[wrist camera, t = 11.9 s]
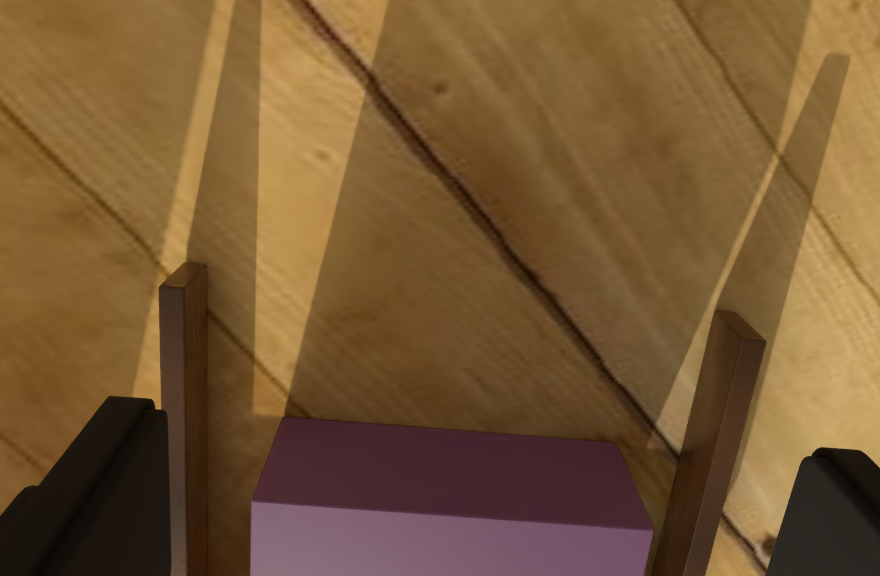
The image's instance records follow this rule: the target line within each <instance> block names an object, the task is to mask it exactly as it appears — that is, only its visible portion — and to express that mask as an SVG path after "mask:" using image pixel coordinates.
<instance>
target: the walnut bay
mask: <svg viewBox="0 0 880 576" xmlns="http://www.w3.org/2000/svg"><path fill="white" fill-rule="evenodd" d="M159 328H160V370H161V410H165V411H166V413H167V416H168V442H169V480H170V518H171V556H172V567H171V575H170V576H207V265H205V264H198V263H187V262H185V263H183V264H182V265H181V266H180V267H179V268H178V269H177V270H176V271H175V272H174V273H173V274H172V275H170V276H169V277H168V278H167V279H166V280H165V281H164V282H163V283H162V284H161V285H160V286H159ZM765 346H766V340H765V339H764V338H763V337H762V336H761V335H760V334H758V333H757V332H756V331H755V330H754V329H753V328H752V327H751V326H750V325H749V324H748V323H747V322H746V321H745V320H744V319H743V318H742V317H740V316H739V315H738V314H737V313H736V312H725V311H714V315H713V319H712V323H711V328H710V332H709V336H708V340H707V345H706V349H705V353H704V357H703V362H702V366H701V370H700V374H699V379H698V383H697V387H696V391H695V396H694V400H693V404H692V408H691V413H690V417H689V421H688V425H687V430H686V434H685V438H684V442H683V447H682V451H681V455H680V459H679V464H678V468H677V472H676V476H675V480H674V485H673V489H672V493H671V497H670V502H669V506H668V510H667V514H666V519H665V523H664V527H663V531H662V536H661V540H660V544H659V548H658V553H657V557H656V561H655V565H654V570H653V574H652V576H705V574H706V570H707V566H708V563H709V559H710V555H711V551H712V547H713V544H714V540H715V536H716V532H717V528H718V525H719V521H720V517H721V513H722V509H723V506H724V502H725V498H726V494H727V491H728V487H729V483H730V479H731V475H732V472H733V468H734V464H735V460H736V456H737V453H738V449H739V445H740V441H741V437H742V434H743V430H744V426H745V422H746V418H747V415H748V411H749V407H750V403H751V399H752V396H753V392H754V388H755V384H756V380H757V377H758V373H759V369H760V365H761V362H762V358H763V354H764V350H765Z"/></svg>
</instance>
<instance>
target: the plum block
mask: <svg viewBox="0 0 880 576" xmlns="http://www.w3.org/2000/svg"><path fill="white" fill-rule="evenodd" d="M653 533H654V528H653V525H652V523H651V521H650V519H649V516H648V514H647V512H646V510H645V507H644V505H643V503H642V500H641V498H640V496H639V494H638V491H637V489H636V487H635V485H634V482H633V480H632V478H631V476H630V473H629V471H628V469H627V466H626V464H625V462H624V460H623V457H622V455H621V453H620V451H619V448H618V446H617V444H616V443H615V442H602V441H589V440H576V439H563V438H551V437H538V436H525V435H512V434H499V433H486V432H473V431H460V430H447V429H434V428H421V427H408V426H395V425H382V424H370V423H357V422H344V421H331V420H318V419H305V418H292V417H283V418H282V420H281V423H280V425H279V428H278V430H277V433H276V436H275V438H274V441H273V444H272V446H271V449H270V452H269V454H268V457H267V460H266V462H265V465H264V468H263V470H262V473H261V475H260V478H259V481H258V483H257V486H256V489H255V491H254V494H253V497H252V499H251V535H250V576H644V574H645V569H646V565H647V560H648V556H649V551H650V547H651V542H652V538H653Z"/></svg>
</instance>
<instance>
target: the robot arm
mask: <svg viewBox="0 0 880 576" xmlns="http://www.w3.org/2000/svg"><path fill="white" fill-rule="evenodd" d="M171 567H172V556H171V518H170V480H169V442H168V416H167V413H166V411H165V410H156V409H155V405H154V402H153V400H152V399H146V398H132V397H118V396H109V397H108V398H107V399H106V400H105V401H104V402H103V404H102V405H101V406H100V408H99V409H98V410H97V411H96V413H95V414H94V415H93V417H92V418H91V419H90V420H89V422H88V423H87V424H86V426H85V427H84V428H83V429H82V431H81V432H80V433H79V434H78V436H77V437H76V438H75V440H74V441H73V442H72V443H71V445H70V446H69V447H68V449H67V450H66V451H65V452H64V454H63V455H62V456H61V457H60V459H59V460H58V461H57V463H56V464H55V465H54V466H53V468H52V469H51V470H50V472H49V473H48V474H47V475H46V477H45V478H44V479H43V481H42V482H41V483H40V484H39V486H35V485H32V486H29V487H26V488H24V489H23V490H22V491H21V492H20V493H19V494H18V495H17V496H16V497H15V499H14V500H13V501H12V502H11V504H10V505H9V506H8V507H7V509H6V510H5V511H4V512H3V514H2V515H1V516H0V576H170V575H171ZM765 576H880V468H879V467H878V466H877V465H876V464H875V463H874V462H873V461H872V460H871V459H870V458H869V457H868V456H867V455H866V454H865V453H863V452H862V451H860V450H851V449H837V448H824V447H821V448H818V449H816V450H815V451H814V452H813V454H812V456H807V457H805V458H804V459H803V460H802V462H801V464H800V467H799V470H798V473H797V476H796V479H795V483H794V486H793V489H792V492H791V495H790V499H789V502H788V505H787V508H786V511H785V515H784V518H783V521H782V524H781V527H780V531H779V534H778V537H777V540H776V543H775V547H774V550H773V553H772V556H771V559H770V563H769V566H768V569H767V572H766V575H765Z"/></svg>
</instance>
